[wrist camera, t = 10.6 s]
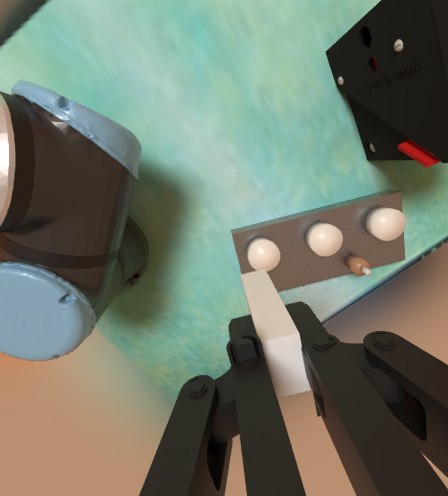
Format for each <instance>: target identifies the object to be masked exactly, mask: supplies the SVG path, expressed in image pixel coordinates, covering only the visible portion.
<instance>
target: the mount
mask: <svg viewBox="0 0 448 496" xmlns="http://www.w3.org/2000/svg"><path fill="white" fill-rule="evenodd" d="M379 207H388V208H392V209H396V210H399V211H400V212H402V195H401V191H394V190H387V191H383V192H379V193H375V194H371V195H367V196H363V197H360V198H356V199H352V200H348V201H344V202H340V203H336V204H332V205H328V206H324V207H320V208H316V209H312V210H308V211H304V212H301V213H297V214H293V215H289V216H285V217H281V218H277V219H273V220H269V221H265V222H261V223H257V224H253V225H249V226H245V227H242V228H238V229H234V230H231V233H232V237H233V241H234V245H235V249H236V253H237V257H238V261H239V265H240V269H241V274H246V273H250V272H254V271H257V270H255V269H254V268H253V267H252V266H251V265H250V262H249V260H248V258H247V248H248V246H249V244H250V243H251V242H252V241H253V240H255V239H257V238H260V237H265V238H268V239H270V240H272V241H273V242H274V244H275V245H276V246H277V247H278V249H279V251H280V261H279V263H278V265H277V266H276V267H275V268H274V269H272V270H270V271H267V274H268V275H269V277H270V279H271V281H272V283H273V285H274V287H275V289H276V290H277V292H278V291H282V290H286V289H290V288H294V287H298V286H302V285H306V284H310V283H314V282H318V281H322V280H326V279H330V278H334V277H338V276H342V275H346V274H350V273H354V272H353V271H352V270H350V269H349V268H348V267H347V266H346V260H347V258H348V257H349V256H351V255H357V256H359V257H361V258H362V259H364V260H365V261H367V262H368V263H369V264H370V268H374V267H378V266H382V265H386V264H390V263H394V262H398V261H402V260H405V248H404V231H403V232H402V234H401V235H400V236H399V237H397V238H396V239H394V240H390V241H384V240H381V239H379V238H377V237H374V236H372V235H371V234H369V233H368V231H367V229H366V219H367V217H368V215H369V214H370V213H371V212H372V211H373V210H374V209H376V208H379ZM319 222H326V223H329V224H331V225H333V226H335V227H336V228H338V229H339V230H340V231H341V233H342V236H343V242H342V245H341V247H340V249H339V250H338V251H337V252H336V253H335V254H333V255H330V256H320V255H318V254H316V253H315V252H314V251H313V250H312V249H310V248H309V247H308V245H307V243H306V234H307V232H308V230H309V229H310V227H311V226H313V225H314V224H316V223H319Z"/></svg>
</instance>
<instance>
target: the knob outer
mask: <svg viewBox="0 0 448 496" xmlns="http://www.w3.org/2000/svg"><path fill="white" fill-rule="evenodd" d="M405 225H406V219H405V216H404V214H403V213H402V212H400V211H399V210H396V209H392V208H388V207H379V208H376V209H374V210H373V211H372V212H371V213H370V214H369V215H368V217H367V219H366V229H367V231H368V233H369V234H371V235H372V236H374V237H377V238H379V239H381V240H384V241H390V240H394V239H396V238H397V237H399V236H400V235H401V234H402V232H403V231H404V229H405Z"/></svg>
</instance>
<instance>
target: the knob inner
mask: <svg viewBox="0 0 448 496" xmlns="http://www.w3.org/2000/svg"><path fill="white" fill-rule="evenodd" d="M247 258H248V260H249V262H250V265H251V266H252V267H253V268H254V269H255V270H257V271H258V270H262V269H265V270H266V272H267V271H270V270H272V269H274V268H275V267H276V266H277V265H278V263H279V261H280V251H279V249H278V247H277V246H276V245H275V244H274V242H273V241H272V240H270V239H268V238H265V237H260V238H257V239H255V240H253V241H252V242H251V243H250V244H249V246H248V248H247Z"/></svg>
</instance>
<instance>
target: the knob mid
mask: <svg viewBox="0 0 448 496" xmlns="http://www.w3.org/2000/svg"><path fill="white" fill-rule="evenodd" d="M342 242H343V236H342V233H341V231H340V230H339V229H338V228H336V227H335V226H333V225H331V224H329V223H326V222H319V223H316V224H314V225H313V226H311V227H310V229H309V230H308V232H307V234H306V243H307V245H308V247H309V248H310V249H312V250H313V251H314V252H315V253H316V254H318V255H320V256H330V255H333V254H335V253H336V252H337V251H338V250H339V249H340V247H341V245H342Z"/></svg>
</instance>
